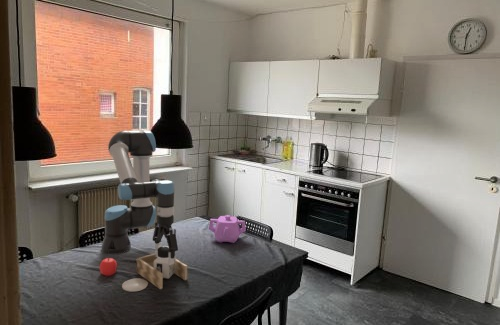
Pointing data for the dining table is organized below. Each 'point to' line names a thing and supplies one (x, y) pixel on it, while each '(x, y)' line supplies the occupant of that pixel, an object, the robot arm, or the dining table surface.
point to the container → (164, 262)
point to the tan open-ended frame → (154, 276)
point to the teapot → (227, 228)
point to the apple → (108, 266)
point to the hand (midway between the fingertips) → (164, 260)
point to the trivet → (134, 285)
